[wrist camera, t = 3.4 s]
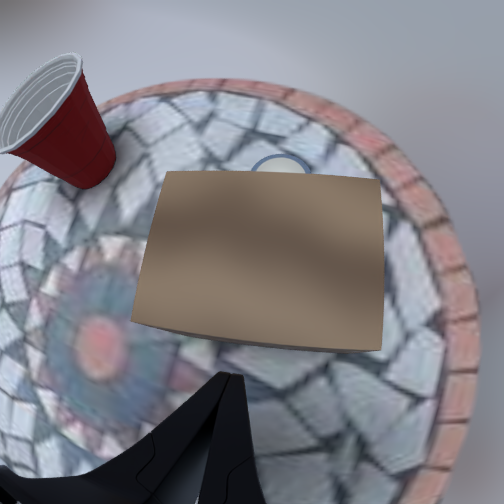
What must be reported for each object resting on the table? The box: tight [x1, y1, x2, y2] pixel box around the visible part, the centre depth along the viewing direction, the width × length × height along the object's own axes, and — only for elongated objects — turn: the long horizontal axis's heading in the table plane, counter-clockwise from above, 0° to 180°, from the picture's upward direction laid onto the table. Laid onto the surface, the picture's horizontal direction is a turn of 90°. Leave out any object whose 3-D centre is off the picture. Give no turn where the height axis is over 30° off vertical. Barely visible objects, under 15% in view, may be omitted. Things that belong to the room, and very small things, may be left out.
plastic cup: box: [0, 52, 116, 189], centre depth 22 cm, size 11×11×12 cm
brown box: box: [131, 171, 384, 354], centre depth 17 cm, size 8×11×8 cm
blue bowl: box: [251, 154, 311, 174], centre depth 22 cm, size 4×4×3 cm
